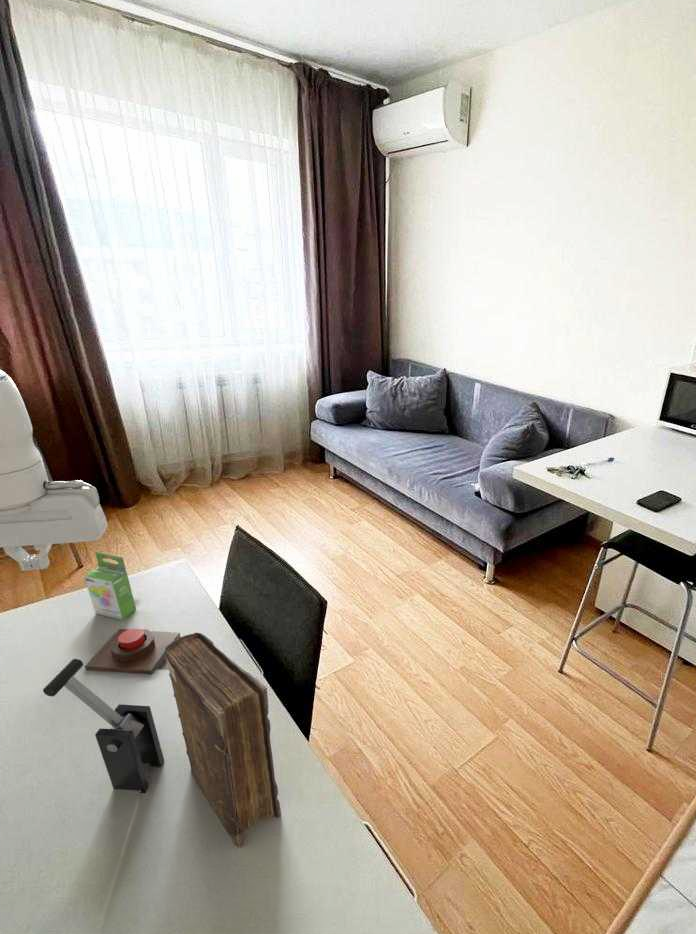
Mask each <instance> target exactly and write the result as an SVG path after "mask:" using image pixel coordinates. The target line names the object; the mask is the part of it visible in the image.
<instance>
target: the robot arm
mask: <svg viewBox="0 0 696 934" xmlns="http://www.w3.org/2000/svg"><path fill="white" fill-rule="evenodd" d="M33 429H34V428H33V425H32V421H31V418H30V415H29V413H28V410H27V408H26V404H25V402H24V399H23V397H22V395H21V393H20V391H19V389H18V387H17V385H16V383H15V381H14V380H13V378H11V376H9V374H7V372H5V371H4V370H1V369H0V548H2V549H3V552H4V553H5V554H6V555H7V556H8V557H10V558H11V559H13V560H14V561H16V562H17V563H18V565H19V567H20V570H21V571H33V570H46V569H47V568H48V567H49V566H50V564H51V562H50V558H49V555H48V554H49V553H50V551H51V548H52V546H53V545H57V544H72V543H85V542H86V543H87V542H96V541H98V540H99V539H100V538H101V537H102V536H103V535H104V533H105V532H106V530H107V528H108V521H107V518H106V515H105V512H104V511H103V508H102V506H101V504H100V496H99V493H98V492H99V491H98V490H97V488H96V487H95V486H93V485H92V484H89V483H87V482H84V481H83V480H81V479H80V480H78V479H77V480H76V479H75V480H68V481H67V480H65V481H64V480H52V481H51V480H49V477H48V474H47V470H46V466H45V464H44V461H43V458H42V455H41V453H40V451H39V450H38V448H37V447H36V446H35V444H34V443H35V442H34V439H33V432H34V431H33ZM28 546H33V548H34V551H39V553H36V554H30V553H28V552H27V550H25V549H24V548H23V547H28Z"/></svg>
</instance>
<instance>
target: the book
mask: <svg viewBox="0 0 696 934" xmlns="http://www.w3.org/2000/svg"><path fill="white" fill-rule="evenodd" d="M164 651H165V656H166V660H167V661H166V663H167V664H166V665H167V668H168V672H169V673H168V676H169V678H170V682H171V685H172V686H171V687H172V689H173V697H174V699H175V702H176V703H175V704H176V707H177V711H178V715H177V716H178V718H179V721H180V725H181V730H182V733H181V734H182V736H183V739H184V743H185V748H186V751H185V752H186V755H187V757H188V760H189V761H188V762H189V765H190V769H191V775H192V777H193V779H194V781H195V783H196V784H197V786H198V788H199V790H200V791H201V792H202V794H203V796H204V798H205V799H206V801H207V802H208V805H210V808H211V809H212V811H213V812H214V814H215V816H216V817H217V818H218V820H219V822H220V823H221V825H222V826H223V828H224V829H225V830H226V832H227V834H228V836H229V837H230V838H231V840H232V843H233V844H234V846H235V845H236V847H238V849H240V848H243V847H244V843H243V834H245V832H246V830H249V829H250V828H251V826H253V825H256V823H258V822H260V821H261V820H263V819H266V818H267V817H269V816H271V817H276V819H277V818H280V817H281V816H282V809H281V803H280V801H279V799H278V795H279V788H278V785H277V782H276V776H275V775H276V774H275V765H274V760H273V759H274V758H273V750H272V744H271V721H270V719H269V717H268V716H269V697H268V696H269V695H268V688H267V687H266V686H265V685H264V683H262V682H261V681H260V680H259V679H258V678H257V677H254V676H253V675H252V674H251V673H250V672H249V671H248V672H247V671H246V670H244V669H243V668H242V667H241V666H240V665H238V664H237V663H236V662H234V661H233V660H232V659H231V658H230V657H228V656H227V655H226V654H225V653H224V652H223V651H221V650H220V649H219V648H218V647H217V646H216V645H215V644H214V641H212V640H211V639H210V638H208V636H206V635H205V634H203V633H201V632H194V633H189V634H186V635H183V636H181V638H178V639H176V640H174V641H173V642H172V643H170V644H169V645H167V646H166V647H165V650H164Z"/></svg>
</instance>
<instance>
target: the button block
mask: <svg viewBox="0 0 696 934" xmlns="http://www.w3.org/2000/svg"><path fill="white" fill-rule="evenodd" d="M130 629H131V628H129V629H128V628H119V629H118V630H116V632H114V634H113V635H112V636H111V637H110V638H109V639H108V640H107V641H106V642H105V644H103V646H102V647H101V648H100V649H99V650H98V651H97V652H96V653H95V654H94V655H93V656H92V657H91V658H90V659H89V661H87V663H86V664H84V669H85V671H94V672H106V673H107V672H108V673H122V674H123V673H126V674H139V675H153V674H154V672H155V671H156V670H161V669H162V668H163V667H164V666H165V664H166V663H167V660H166V656H165V651H164V650H165V647H166V646H167V645H169V644H170V643H172V642H173V641H174V640H176V639H178V638H181V637H182V636H181V632H176V631H175V632H174V631H160V630H159V631H158V630H150V629H149V628H140V629H141V630H143V633H144V637H145V642H144V643H143V644H142V645H141V646H139V647H137V648H134V649H131V650H123V649H121V647H120V644H119V640H118V638H119V636H120V635H121V634H122V633H123V632H125V631H127V630H130Z"/></svg>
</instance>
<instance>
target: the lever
mask: <svg viewBox="0 0 696 934" xmlns="http://www.w3.org/2000/svg"><path fill="white" fill-rule="evenodd" d="M83 667H84V662H83V661H82V660H81V659H79V658H72V659H71V660H70V661H69V663H67V664H66V665H65V667H63V669H62V670H60V671H59V673H58V674H56V676H54V677H53V679H51V681H50V682H48V683H47V685H46V686H44V688H43V689H42V692H43V693H44V695H46V696H47V697H55V696H56V695H58V693H59V692H60V691H61V690H62V689H63V688H66V689H67V690H68V691H69V692H70V693H71V694H73V695H74V696H75V697H76V698H78V699H79V700H80V702H81V701H82V703H84V704H85V705H86V706H87V707H88V708H90V709H91V710H92V711H93V712H94V713H95V714H97V715H98V716H99V717H100V718H102V719H103V721H106V722H107V723H108V724H109V725H110V726H111V727H110V729H117V730H132V731H133V734H134V737H135V738H136V737H137V735H138V734H139V732H140V731H141V729H142V728H143V727H144V725H143V724H142V723H141V722H139V721H138V720H137V719H136V718H135V717H134V716H132V715H131V714H130V713H129V714H127V715H125V716H123V717H121V716H120V715H119V714H118V713H117V712H115V709H113V708H112V707H111V706H109V704H107V703H106V702H105V701H104V700H102V699H101V698H100V697H99V696H98V695H96V694H95V693H94V692H93V691H92V690H90V689H89V688H88V687H87V686H86V685H85V684H84V683H82V681H80V680H79V679H78V678H77V677H75V675H77V673H78V672H79V671H80V670H81V669H82V668H83Z"/></svg>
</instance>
